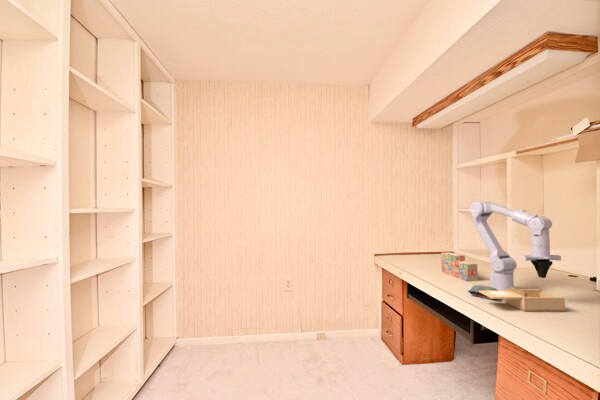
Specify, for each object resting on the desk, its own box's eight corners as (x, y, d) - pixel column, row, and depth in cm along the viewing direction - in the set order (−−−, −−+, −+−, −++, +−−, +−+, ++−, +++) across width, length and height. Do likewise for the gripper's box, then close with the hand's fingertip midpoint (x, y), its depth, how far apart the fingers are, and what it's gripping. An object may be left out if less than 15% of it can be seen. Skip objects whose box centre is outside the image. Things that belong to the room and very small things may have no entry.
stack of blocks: (478, 281, 144) (477, 258, 144) (467, 281, 143) (466, 258, 143) (450, 271, 165) (450, 251, 165) (441, 272, 164) (440, 252, 164)
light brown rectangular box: (503, 301, 112) (503, 289, 113) (540, 301, 112) (539, 289, 112) (524, 311, 101) (524, 298, 102) (565, 311, 101) (564, 297, 101)
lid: (478, 291, 112) (478, 286, 112) (515, 291, 111) (514, 286, 111) (492, 298, 103) (492, 293, 103) (531, 298, 103) (531, 292, 103)
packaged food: (473, 291, 126) (472, 281, 126) (504, 297, 117) (503, 286, 117) (467, 296, 121) (466, 285, 121) (499, 303, 112) (498, 291, 112)
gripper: (530, 246, 109) (532, 280, 109) (567, 246, 109) (569, 279, 108) (517, 244, 116) (518, 275, 116) (551, 244, 116) (553, 275, 115)
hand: (542, 277), depth 112 cm, fingers closed
